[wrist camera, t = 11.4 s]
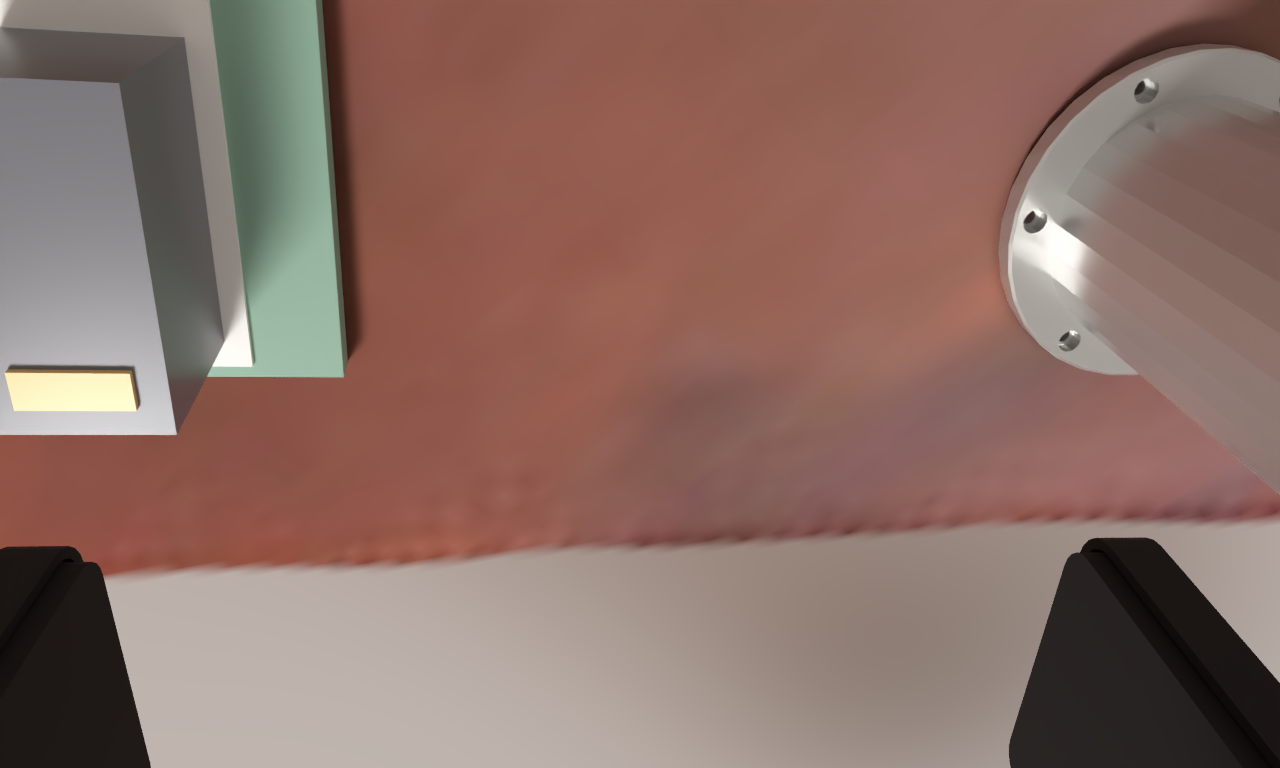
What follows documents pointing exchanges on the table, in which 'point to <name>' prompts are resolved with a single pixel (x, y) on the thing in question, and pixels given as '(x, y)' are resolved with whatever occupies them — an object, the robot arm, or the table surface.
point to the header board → (250, 166)
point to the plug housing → (101, 236)
